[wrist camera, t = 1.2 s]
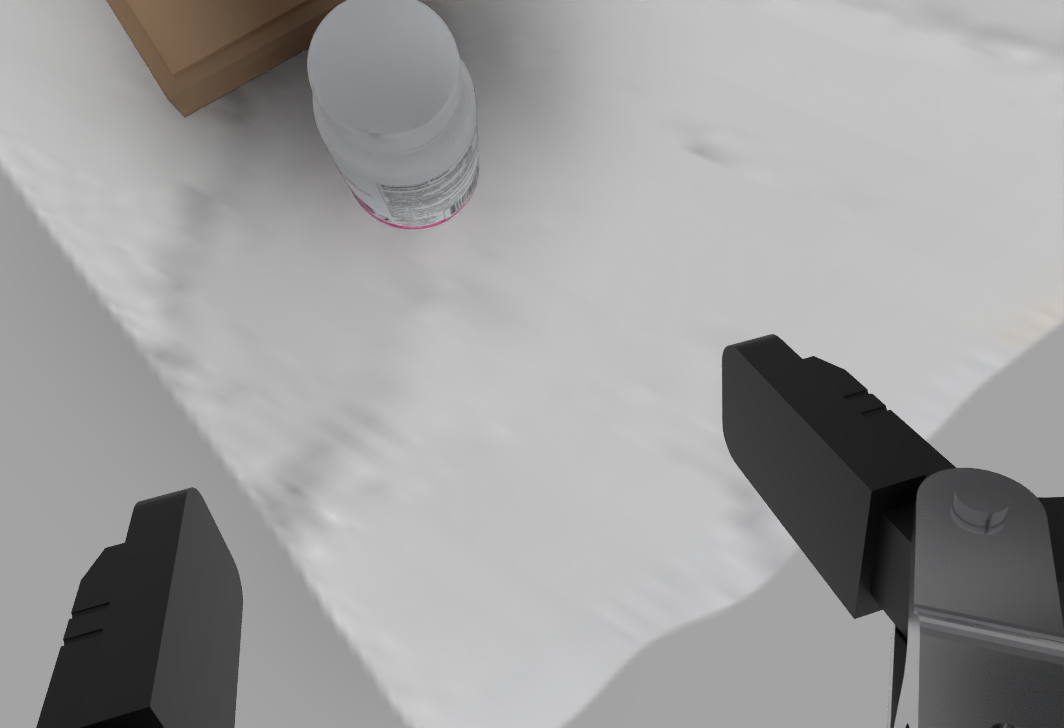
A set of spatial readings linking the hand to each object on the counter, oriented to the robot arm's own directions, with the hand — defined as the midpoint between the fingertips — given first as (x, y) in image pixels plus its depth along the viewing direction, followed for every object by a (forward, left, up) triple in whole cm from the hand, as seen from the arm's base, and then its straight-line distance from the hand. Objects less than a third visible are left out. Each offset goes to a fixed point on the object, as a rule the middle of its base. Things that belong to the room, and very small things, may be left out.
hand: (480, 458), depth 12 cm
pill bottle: (-3, -10, -16) cm, 20 cm away
